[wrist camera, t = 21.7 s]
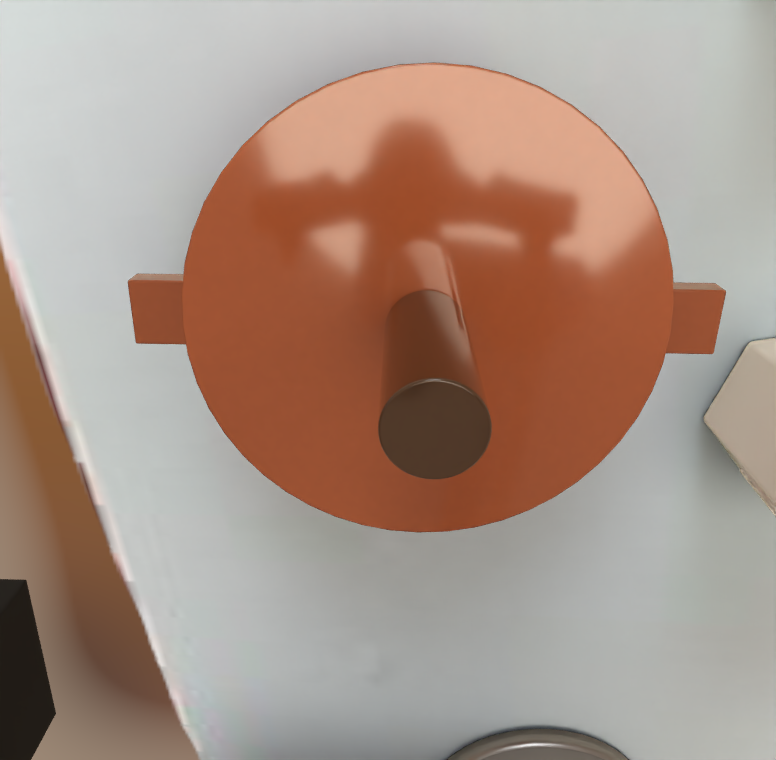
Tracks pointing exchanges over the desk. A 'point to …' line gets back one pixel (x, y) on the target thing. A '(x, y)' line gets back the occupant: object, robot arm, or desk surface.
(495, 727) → the desk surface
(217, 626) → the desk surface
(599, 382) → the lid
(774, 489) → the jar
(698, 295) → the pot
